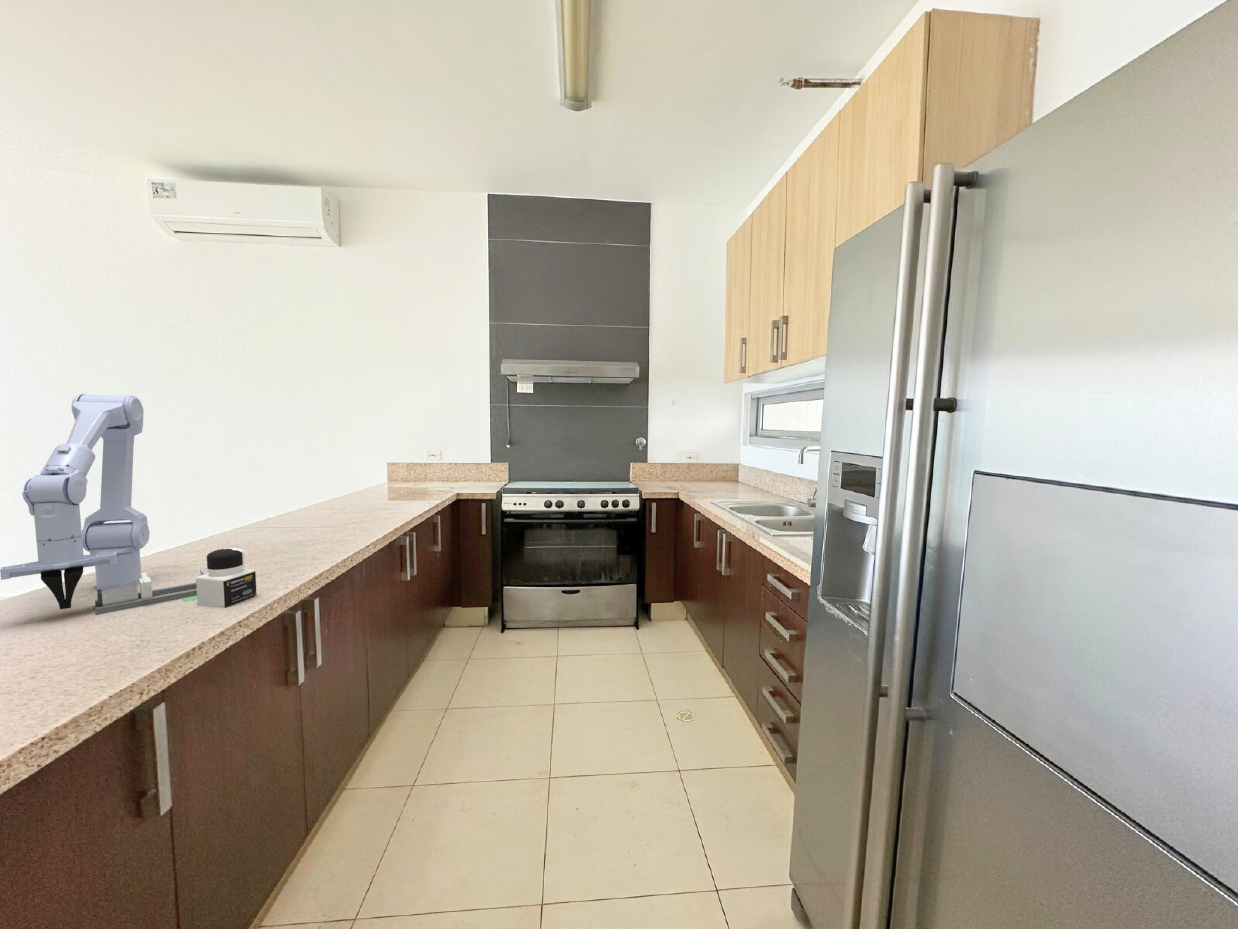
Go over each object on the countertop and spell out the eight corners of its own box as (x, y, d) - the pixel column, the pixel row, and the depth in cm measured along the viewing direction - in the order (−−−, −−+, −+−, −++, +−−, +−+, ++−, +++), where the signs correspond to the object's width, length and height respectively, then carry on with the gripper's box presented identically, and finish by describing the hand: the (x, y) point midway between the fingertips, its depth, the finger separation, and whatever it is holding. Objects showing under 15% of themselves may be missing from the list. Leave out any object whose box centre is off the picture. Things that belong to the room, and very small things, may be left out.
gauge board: (95, 608, 102) (93, 583, 101) (208, 587, 115) (206, 565, 114) (96, 625, 93) (94, 598, 93) (217, 601, 107) (216, 577, 106)
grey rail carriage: (98, 606, 99) (96, 587, 99) (137, 599, 103) (135, 581, 103) (98, 612, 96) (97, 592, 96) (138, 604, 100) (137, 585, 100)
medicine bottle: (225, 614, 100) (222, 556, 99) (197, 610, 101) (193, 553, 100) (257, 601, 107) (255, 547, 106) (230, 598, 108) (227, 545, 107)
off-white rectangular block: (139, 596, 105) (137, 573, 105) (149, 594, 106) (148, 571, 106) (143, 607, 99) (141, 583, 99) (154, 605, 100) (152, 581, 100)
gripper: (-5, 548, 85) (2, 624, 86) (115, 535, 96) (120, 603, 97) (0, 541, 90) (7, 613, 91) (113, 529, 101) (118, 594, 102)
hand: (65, 607), depth 94 cm, fingers closed
